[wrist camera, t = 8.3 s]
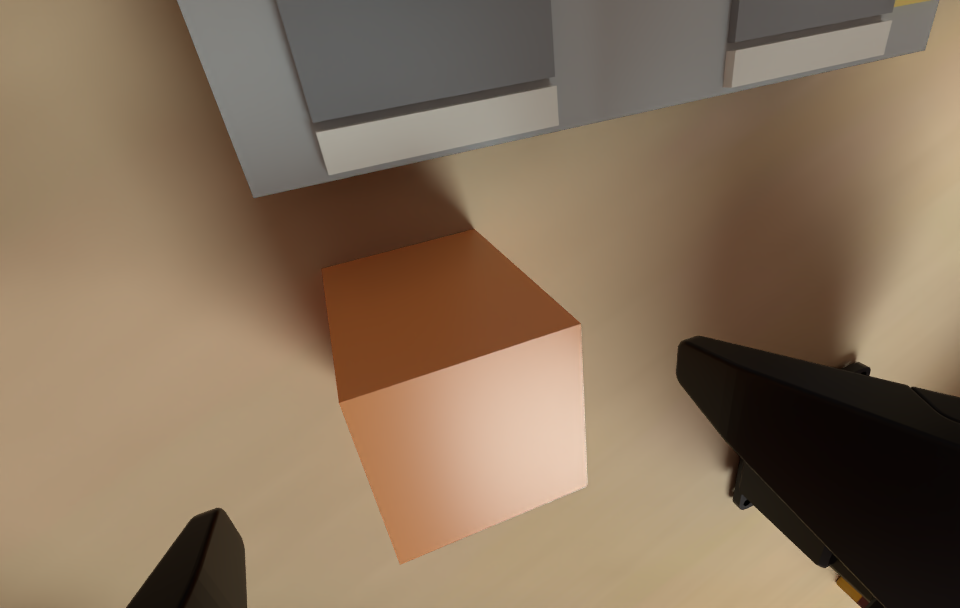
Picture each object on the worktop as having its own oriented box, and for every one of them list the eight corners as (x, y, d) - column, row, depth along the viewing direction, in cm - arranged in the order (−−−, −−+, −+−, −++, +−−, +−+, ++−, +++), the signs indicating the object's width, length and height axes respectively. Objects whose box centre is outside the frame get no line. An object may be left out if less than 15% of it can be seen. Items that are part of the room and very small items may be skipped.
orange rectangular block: (473, 228, 12) (580, 323, 8) (492, 351, 14) (587, 486, 10) (321, 268, 11) (338, 403, 7) (363, 393, 13) (400, 565, 9)
